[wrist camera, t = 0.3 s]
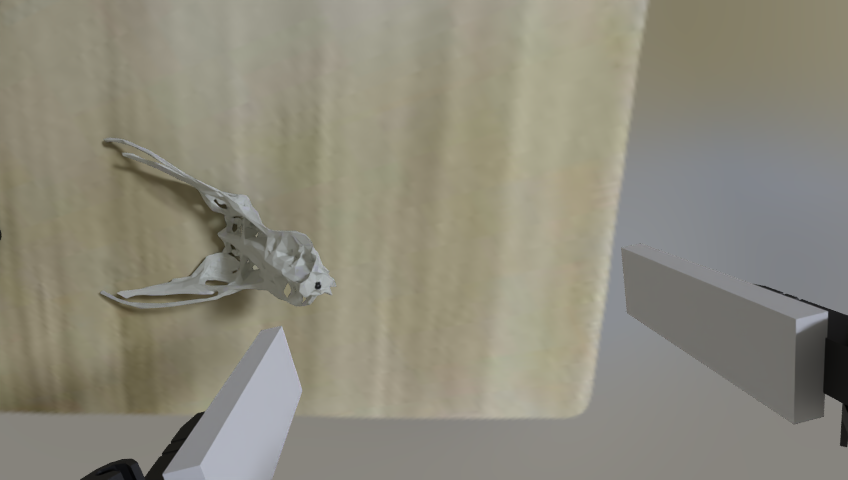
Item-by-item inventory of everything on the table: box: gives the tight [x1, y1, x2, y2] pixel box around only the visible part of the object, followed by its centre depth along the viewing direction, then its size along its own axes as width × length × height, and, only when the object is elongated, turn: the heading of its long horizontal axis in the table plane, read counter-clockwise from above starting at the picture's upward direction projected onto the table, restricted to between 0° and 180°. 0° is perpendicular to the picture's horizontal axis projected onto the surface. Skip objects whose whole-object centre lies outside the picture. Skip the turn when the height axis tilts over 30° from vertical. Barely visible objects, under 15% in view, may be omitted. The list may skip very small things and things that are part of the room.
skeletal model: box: [100, 138, 337, 308], centre depth 36 cm, size 16×9×25 cm
